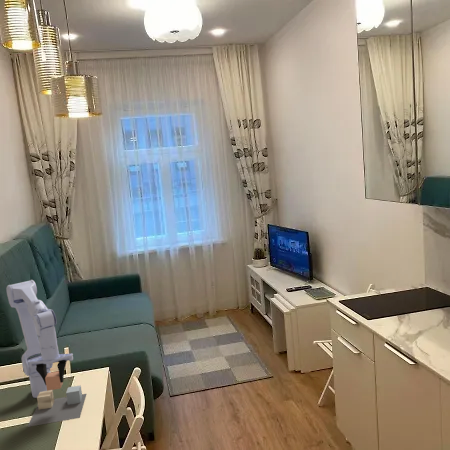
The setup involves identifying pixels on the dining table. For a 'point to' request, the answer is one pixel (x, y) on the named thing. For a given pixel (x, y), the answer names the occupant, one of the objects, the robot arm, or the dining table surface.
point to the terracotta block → (53, 381)
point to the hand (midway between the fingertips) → (54, 382)
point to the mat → (57, 412)
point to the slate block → (74, 395)
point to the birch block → (45, 399)
